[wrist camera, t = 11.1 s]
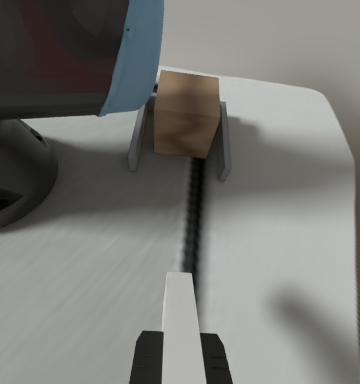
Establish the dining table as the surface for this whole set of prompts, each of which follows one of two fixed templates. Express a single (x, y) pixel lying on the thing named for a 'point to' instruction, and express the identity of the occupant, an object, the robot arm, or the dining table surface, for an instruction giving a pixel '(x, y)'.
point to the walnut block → (185, 114)
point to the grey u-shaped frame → (221, 138)
